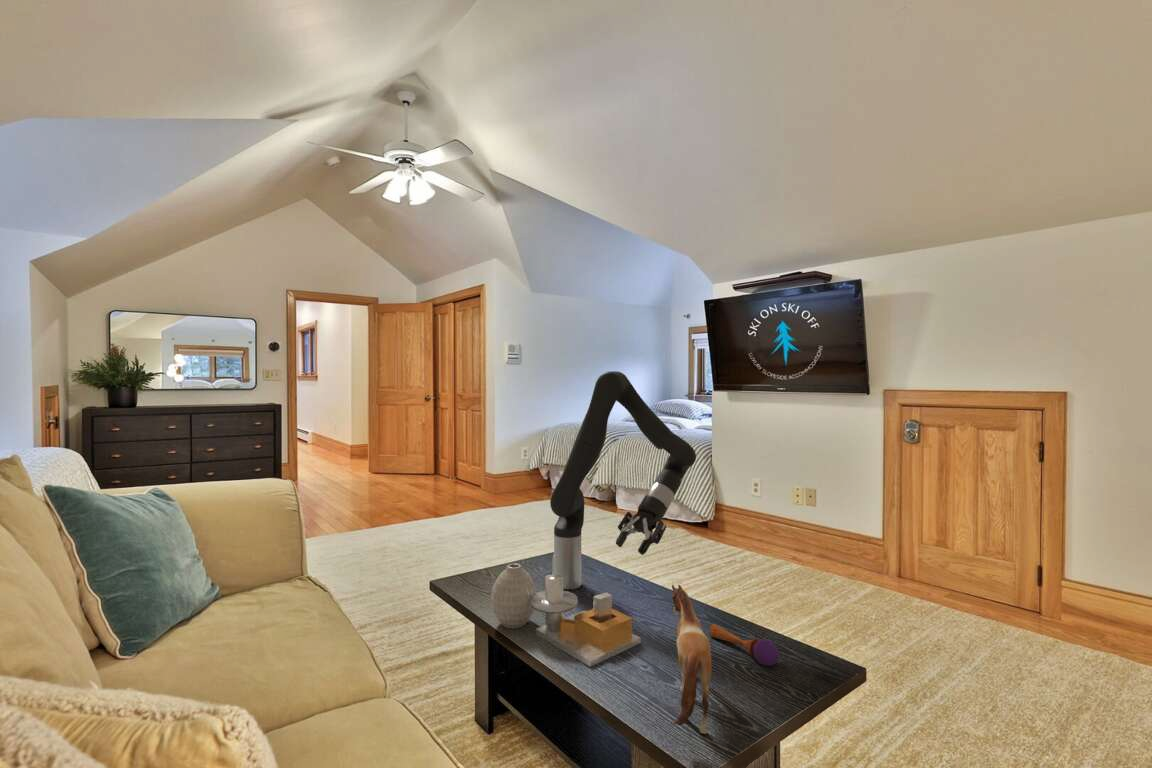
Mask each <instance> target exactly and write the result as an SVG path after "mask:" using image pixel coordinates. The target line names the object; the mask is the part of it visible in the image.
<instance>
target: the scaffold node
mask: <svg viewBox="0 0 1152 768" xmlns="http://www.w3.org/2000/svg"><path fill="white" fill-rule="evenodd" d="M544 579H545V581H544V582H545V583H544V584H545V590H542V591H538V592H536V594H534V595H533V596H532V597H531V599H530V605H531V607H532V608H534V609H535V610H536V611H538V612H541V613H545V616H544V618H545V619H544V620H545V623H544V625H542V626H540V627H536V628H535V635H536V636H538V637H540V638H541V637H542V638H541V639H543V638H544V639H543V640H545V639H546V640H547V641H546V640H545V641H546V642H548V641H549V642H548V643H549V644H551V643H552V644H551V645H553V646H555V647H556V648H557V649H559V650H561V651H562V652H565V653H566V654H568V655H569V656H571V657H573V658H574V659H576V660H578V661H579V662H581V663H583V664H584V665H586V666H588V667H589V668H591V667H593V666H596V665H597V664H600V663H601V662H604V661H606V660H607V659H610V658H613V657H614V656H616V655H618V654H620V653H622V652H625V651H627V650H629V649H631V648H634V647H635V646H637V645H641V637H640V636H638V635H636V634H634V633H633V617H632V616H629V615H626V614H625V613H622V612H620V611H618V610H616V609H614V608H612V619H610V620H607V621H605V622H603V623H598V622H596V621H594V620H593V608H591V609H589V610H585V609H584V610H581V611H580V612H577V613H574V614H571V615H569V616H568V615H567V616H565V617H564V613H567V612H569V611H572V610H574V609H575V608H576V607H577V606H579V605H578V603H579V598H578V596H577V595H576V594H575V593H573V592H570V591H568V590H564V589H563V576H561V575H558V574H552V573H551V574H547V575H546V576H545V578H544ZM535 610H534V611H535Z"/></svg>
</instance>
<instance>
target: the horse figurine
mask: <svg viewBox="0 0 1152 768" xmlns="http://www.w3.org/2000/svg"><path fill="white" fill-rule="evenodd" d="M677 586H678V588H676V587H675V586H674V584H671V589H672V591H673V594H672V596H671V599H672V601H673V603H674V608H673V613H674V614H675V616H677V617H680V620H679V621H678V625H677V629H676V636H677V639H676V648H677V657H678V666H679V668H680V669H681V678H682V681H681V686H680V687H679V691H680V692H681V693H682V695H681V700H680V712H679V715H678V717H676V718H675V720H673V722H672V723H673V724H674V725H677V726H682V725H684V724H685V723H686V722H687V720H688V719H690V717H691V716H692V714H693V712H694V709H695V706H696V696H697V688H698V687H697V686H698V685H697V684H698V683H697V680H698V679H697V678H698V677H699V679H700V685H701V686H700V687H701V691H702V697H701V698H702V699H701V706H702V709H703V714H702V715H703V717H702V721H701V725H700V728H699V733H701V734H704V735H706V734H708V709H709V698H708V696H709V691H710V679H711V677H712V653H711V652H712V651H711V643H710V639H709V637H708V636H707V635H706V634H705V633H704V631H703V626H702V624H701V621H700V620H699V618H698V617H697V614H696V612H695V610H694V607H693V604H692V601H691V599H690V597H689V595H688V593H687V592H686V591H685V590H684V589H683V587H682V586H681V584H678V585H677Z"/></svg>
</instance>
